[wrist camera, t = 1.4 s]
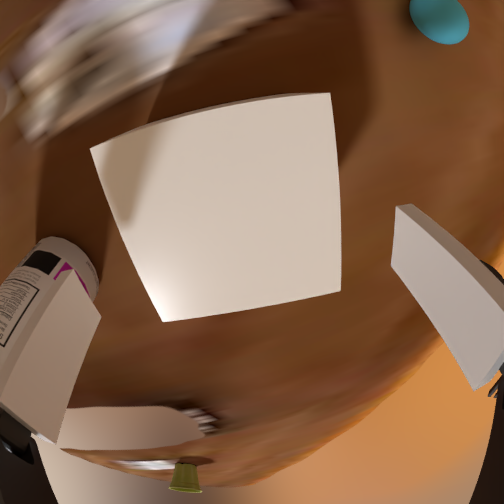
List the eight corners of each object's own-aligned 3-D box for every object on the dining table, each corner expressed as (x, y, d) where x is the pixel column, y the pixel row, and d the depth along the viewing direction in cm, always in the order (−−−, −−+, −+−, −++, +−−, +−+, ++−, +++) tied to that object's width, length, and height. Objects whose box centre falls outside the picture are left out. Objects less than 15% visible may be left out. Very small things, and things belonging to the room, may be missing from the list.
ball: (391, -10, 11) (426, -25, 7) (436, 2, 11) (472, -5, 7) (404, 41, 14) (443, 35, 10) (447, 49, 14) (485, 50, 10)
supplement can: (113, 265, 23) (49, 410, 11) (86, 311, 26) (40, 430, 13) (47, 216, 20) (-53, 332, 7) (30, 271, 23) (-36, 377, 10)
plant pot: (194, 469, 64) (194, 493, 56) (165, 464, 60) (164, 488, 53) (207, 465, 60) (207, 491, 52) (176, 459, 57) (174, 486, 49)
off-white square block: (146, 124, 17) (89, 148, 10) (288, 93, 17) (329, 92, 9) (182, 244, 23) (162, 322, 15) (305, 221, 22) (340, 290, 15)
